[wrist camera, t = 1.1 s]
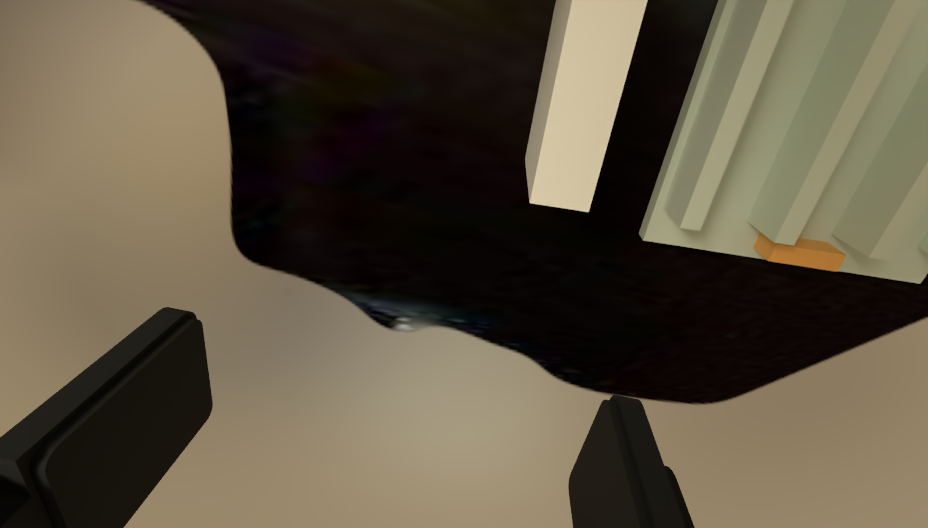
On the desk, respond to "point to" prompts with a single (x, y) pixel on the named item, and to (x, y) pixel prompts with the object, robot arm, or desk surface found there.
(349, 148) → the desk surface
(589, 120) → the panel
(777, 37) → the rack
